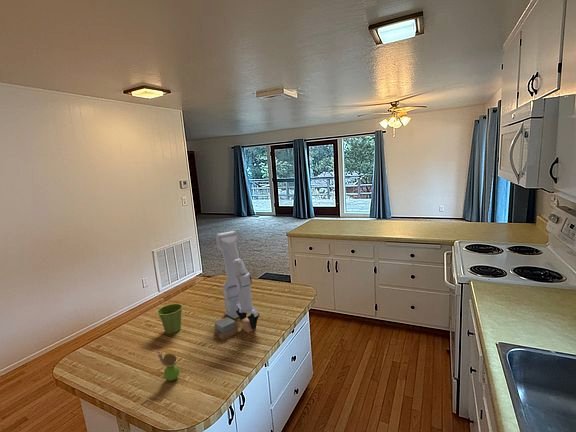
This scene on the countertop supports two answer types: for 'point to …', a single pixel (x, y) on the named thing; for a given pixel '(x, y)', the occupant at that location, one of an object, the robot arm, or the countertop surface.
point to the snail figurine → (169, 366)
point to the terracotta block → (246, 325)
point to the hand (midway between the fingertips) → (249, 326)
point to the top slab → (225, 325)
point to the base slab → (227, 334)
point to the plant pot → (171, 317)
